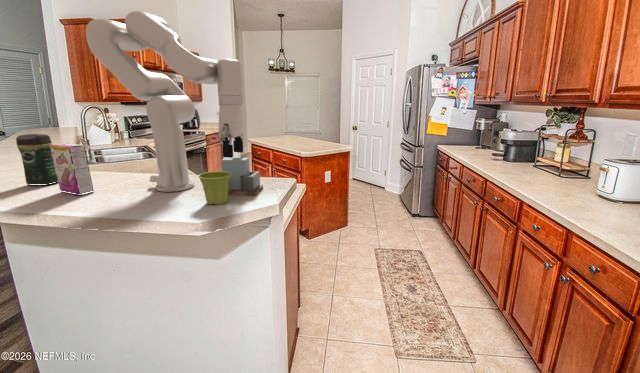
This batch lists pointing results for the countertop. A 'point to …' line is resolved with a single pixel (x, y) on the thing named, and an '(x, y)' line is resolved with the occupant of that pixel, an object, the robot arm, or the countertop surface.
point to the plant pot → (215, 186)
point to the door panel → (236, 170)
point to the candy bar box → (71, 167)
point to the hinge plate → (245, 192)
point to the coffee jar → (37, 158)
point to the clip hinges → (250, 181)
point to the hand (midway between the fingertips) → (233, 154)
